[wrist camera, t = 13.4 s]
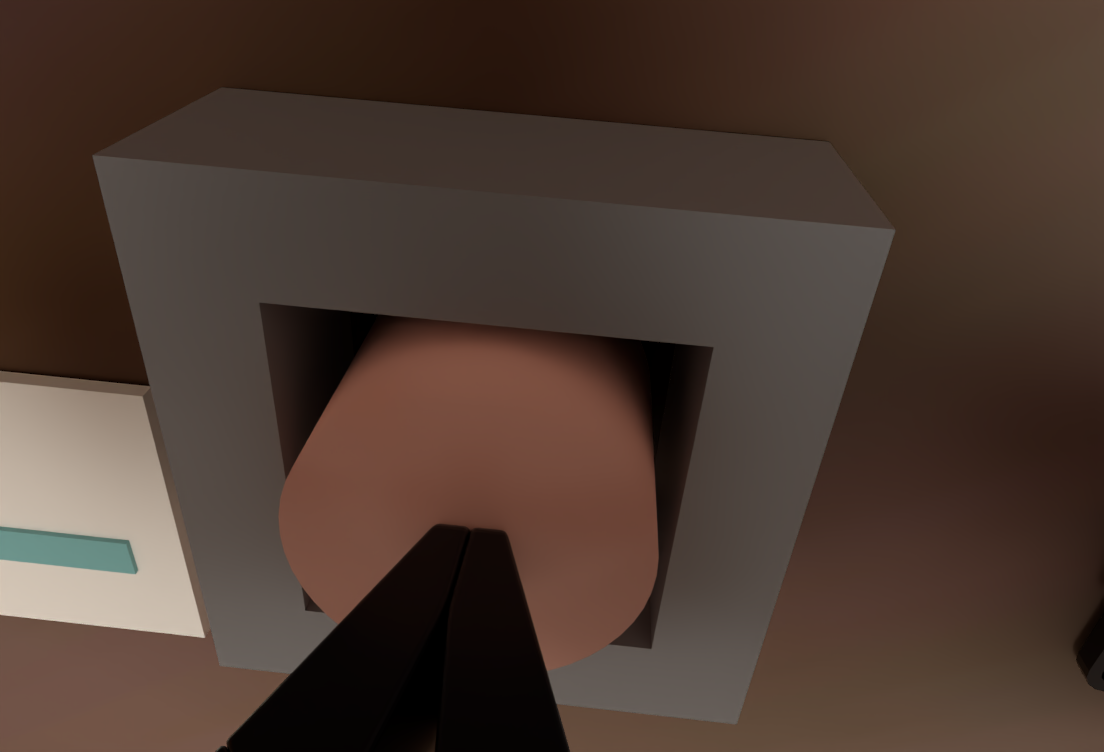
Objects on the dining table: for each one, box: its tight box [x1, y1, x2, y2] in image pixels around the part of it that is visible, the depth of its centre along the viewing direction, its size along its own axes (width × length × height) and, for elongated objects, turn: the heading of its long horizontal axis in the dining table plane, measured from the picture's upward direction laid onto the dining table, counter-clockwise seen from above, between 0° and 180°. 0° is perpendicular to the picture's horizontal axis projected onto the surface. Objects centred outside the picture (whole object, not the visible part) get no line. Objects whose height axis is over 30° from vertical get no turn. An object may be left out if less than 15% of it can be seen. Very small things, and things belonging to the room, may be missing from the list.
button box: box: [92, 87, 895, 724], centre depth 11 cm, size 8×8×3 cm
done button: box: [278, 314, 659, 671], centre depth 11 cm, size 4×4×4 cm
